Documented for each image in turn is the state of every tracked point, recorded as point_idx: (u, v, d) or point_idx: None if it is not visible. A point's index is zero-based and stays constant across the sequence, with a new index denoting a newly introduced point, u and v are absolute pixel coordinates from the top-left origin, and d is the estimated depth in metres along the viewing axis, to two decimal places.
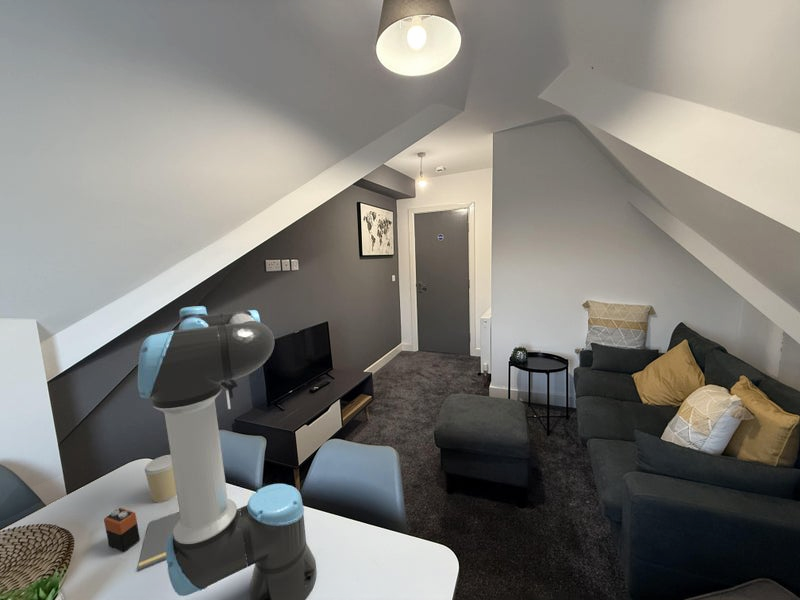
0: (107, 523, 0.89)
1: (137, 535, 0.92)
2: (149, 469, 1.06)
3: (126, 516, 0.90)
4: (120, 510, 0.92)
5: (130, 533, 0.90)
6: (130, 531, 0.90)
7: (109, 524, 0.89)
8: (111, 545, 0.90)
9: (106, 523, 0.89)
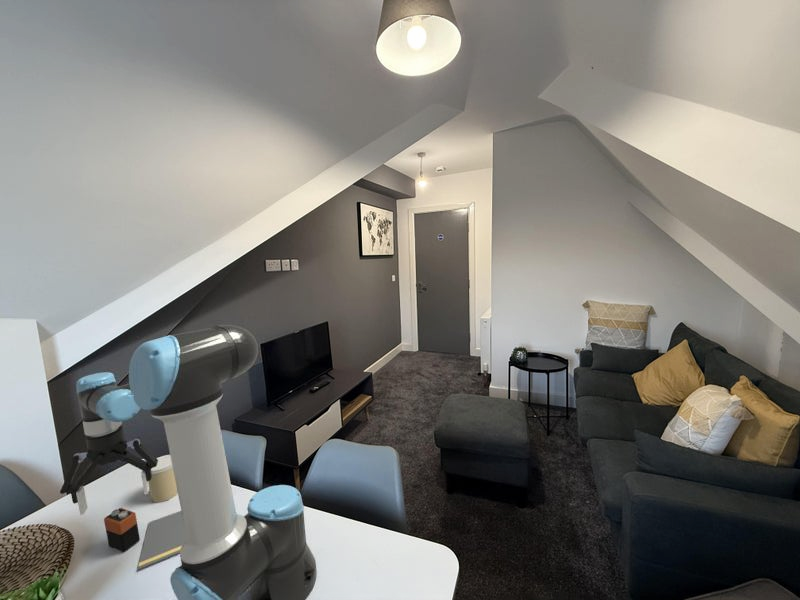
0: (107, 523, 0.89)
1: (137, 535, 0.92)
2: None
3: (126, 516, 0.90)
4: (120, 510, 0.92)
5: (130, 533, 0.90)
6: (130, 531, 0.90)
7: (109, 524, 0.89)
8: (111, 545, 0.90)
9: (106, 523, 0.89)
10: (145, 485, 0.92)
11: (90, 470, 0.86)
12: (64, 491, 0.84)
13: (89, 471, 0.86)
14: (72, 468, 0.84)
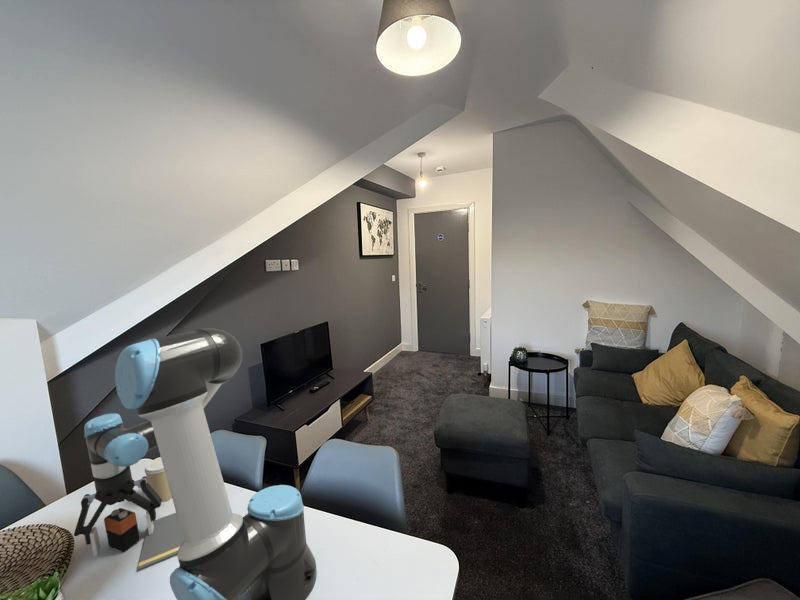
0: (107, 523, 0.89)
1: (137, 535, 0.92)
2: (149, 469, 1.06)
3: (126, 516, 0.90)
4: (120, 510, 0.92)
5: (130, 533, 0.90)
6: (130, 531, 0.90)
7: (109, 524, 0.89)
8: (111, 545, 0.90)
9: (106, 523, 0.89)
10: (149, 525, 0.93)
11: (100, 511, 0.88)
12: (78, 533, 0.86)
13: (99, 512, 0.87)
14: (82, 511, 0.86)
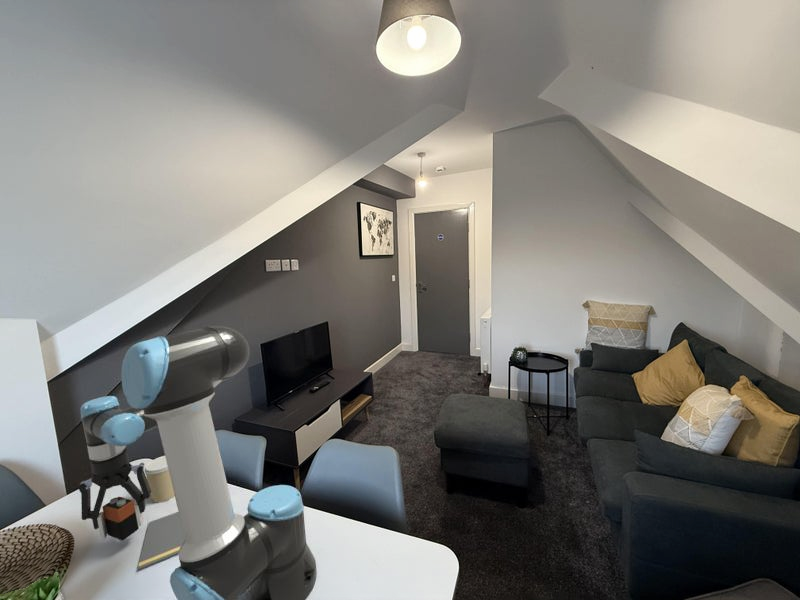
0: (105, 511, 0.89)
1: (136, 524, 0.91)
2: (149, 469, 1.06)
3: (124, 504, 0.89)
4: (119, 498, 0.92)
5: (128, 521, 0.89)
6: (128, 519, 0.89)
7: (108, 512, 0.88)
8: (110, 534, 0.89)
9: (104, 511, 0.89)
10: (138, 517, 0.91)
11: (102, 494, 0.87)
12: (86, 517, 0.86)
13: (101, 496, 0.87)
14: (83, 496, 0.85)
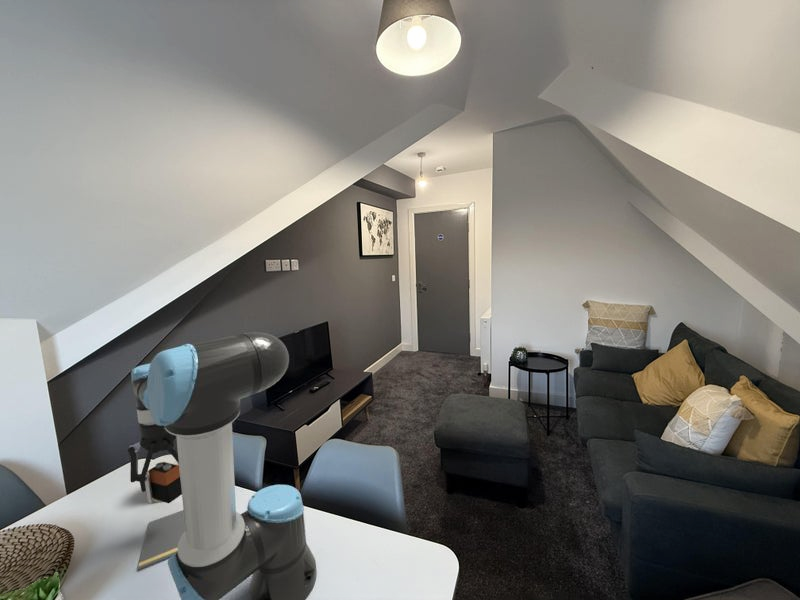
0: (152, 475, 0.90)
1: (180, 488, 0.93)
2: (149, 469, 1.06)
3: (170, 468, 0.91)
4: (163, 463, 0.93)
5: (174, 485, 0.91)
6: (174, 483, 0.91)
7: (154, 475, 0.90)
8: (155, 497, 0.91)
9: (151, 475, 0.90)
10: None
11: (149, 458, 0.89)
12: (134, 479, 0.87)
13: (149, 459, 0.89)
14: (132, 458, 0.87)
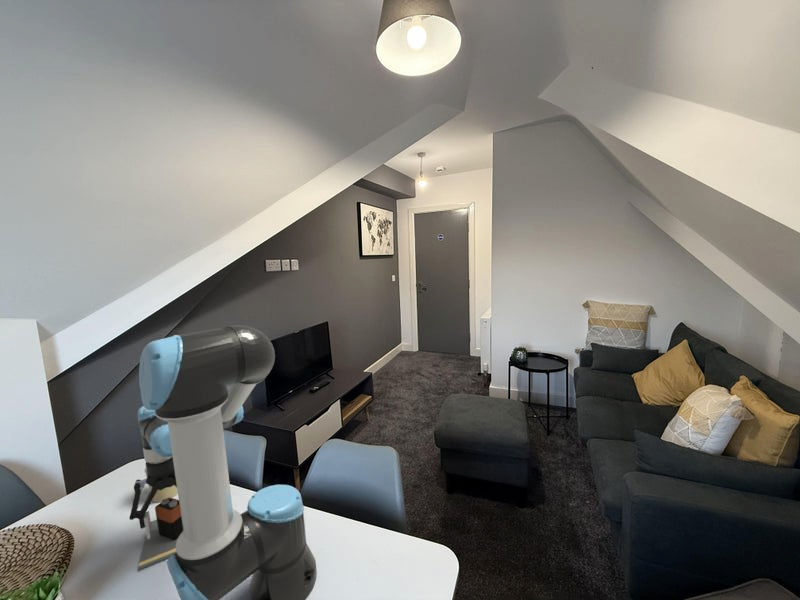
0: (158, 512, 0.92)
1: None
2: None
3: (176, 505, 0.92)
4: (169, 499, 0.95)
5: (179, 521, 0.92)
6: (180, 520, 0.92)
7: (160, 512, 0.91)
8: (161, 533, 0.93)
9: (157, 511, 0.92)
10: None
11: (152, 495, 0.90)
12: (133, 517, 0.88)
13: (152, 496, 0.90)
14: (136, 495, 0.88)
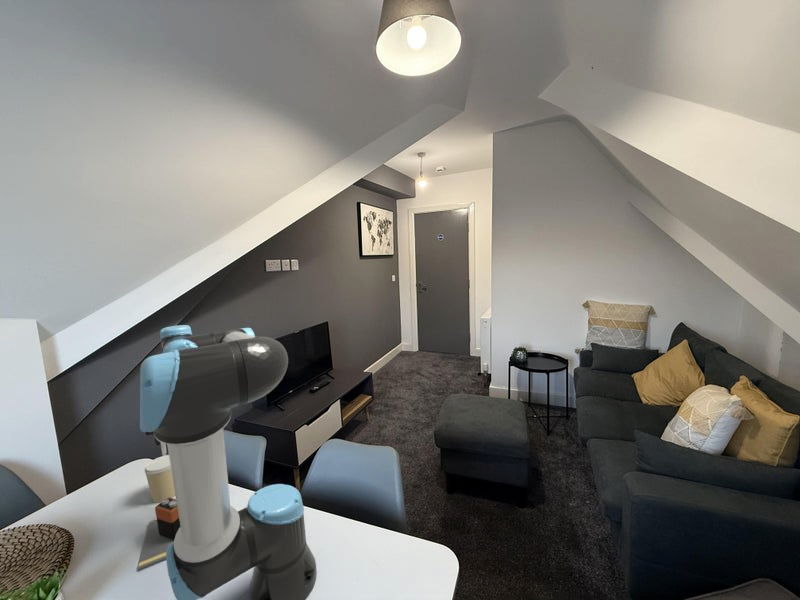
0: (158, 512, 0.92)
1: None
2: (149, 469, 1.06)
3: (176, 505, 0.92)
4: (169, 499, 0.95)
5: (179, 521, 0.92)
6: None
7: (160, 512, 0.91)
8: (161, 533, 0.93)
9: (157, 512, 0.92)
10: None
11: None
12: (149, 433, 0.90)
13: None
14: None
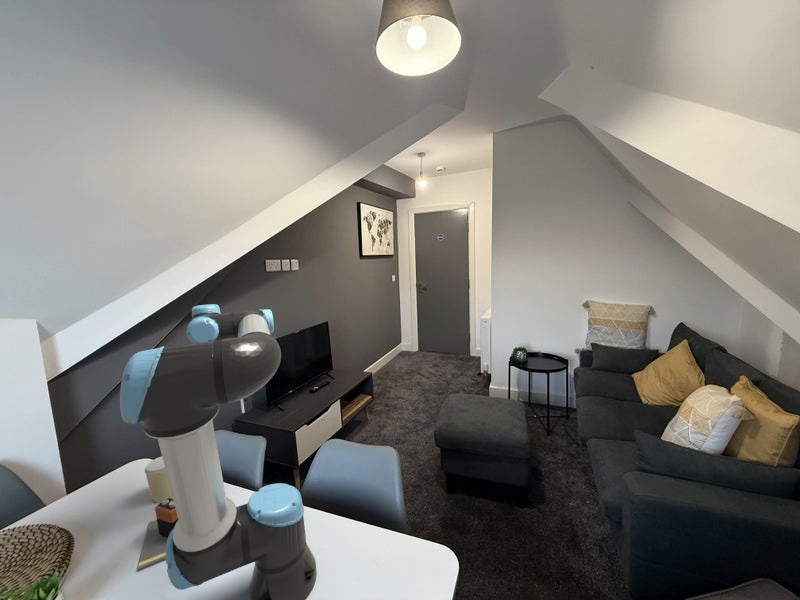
0: (158, 512, 0.92)
1: None
2: (149, 469, 1.06)
3: None
4: (169, 499, 0.95)
5: None
6: None
7: (160, 512, 0.91)
8: (161, 533, 0.93)
9: (157, 511, 0.92)
10: (243, 405, 1.06)
11: None
12: None
13: None
14: None
